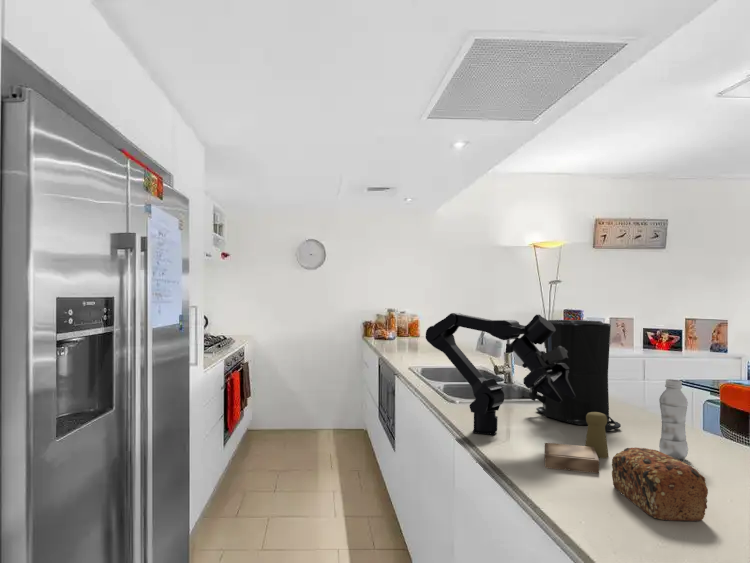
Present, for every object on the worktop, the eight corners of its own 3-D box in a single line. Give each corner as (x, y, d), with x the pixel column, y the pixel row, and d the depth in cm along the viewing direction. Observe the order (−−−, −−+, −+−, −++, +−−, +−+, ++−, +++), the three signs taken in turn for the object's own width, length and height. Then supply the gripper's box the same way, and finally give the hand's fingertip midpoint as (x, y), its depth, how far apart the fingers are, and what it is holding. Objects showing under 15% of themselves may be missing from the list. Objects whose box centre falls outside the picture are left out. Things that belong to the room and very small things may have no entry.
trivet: (545, 467, 131) (545, 454, 131) (544, 454, 142) (544, 441, 142) (599, 473, 127) (599, 459, 127) (593, 458, 139) (593, 446, 139)
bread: (709, 523, 100) (709, 469, 100) (650, 522, 100) (651, 467, 100) (658, 487, 119) (658, 441, 119) (609, 486, 119) (609, 440, 119)
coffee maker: (561, 407, 204) (562, 317, 205) (646, 425, 177) (646, 321, 178) (521, 413, 191) (522, 318, 192) (606, 434, 164) (607, 322, 165)
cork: (611, 459, 139) (611, 415, 139) (586, 457, 140) (586, 414, 140) (606, 452, 145) (606, 410, 145) (582, 450, 146) (582, 409, 146)
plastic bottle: (678, 463, 136) (678, 383, 137) (653, 455, 142) (653, 379, 143) (693, 460, 139) (694, 381, 140) (669, 453, 145) (669, 377, 146)
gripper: (534, 338, 145) (575, 384, 137) (562, 335, 159) (601, 377, 151) (507, 364, 150) (545, 411, 142) (537, 359, 164) (573, 401, 156)
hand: (567, 399), depth 148 cm, fingers open, 9 cm apart
